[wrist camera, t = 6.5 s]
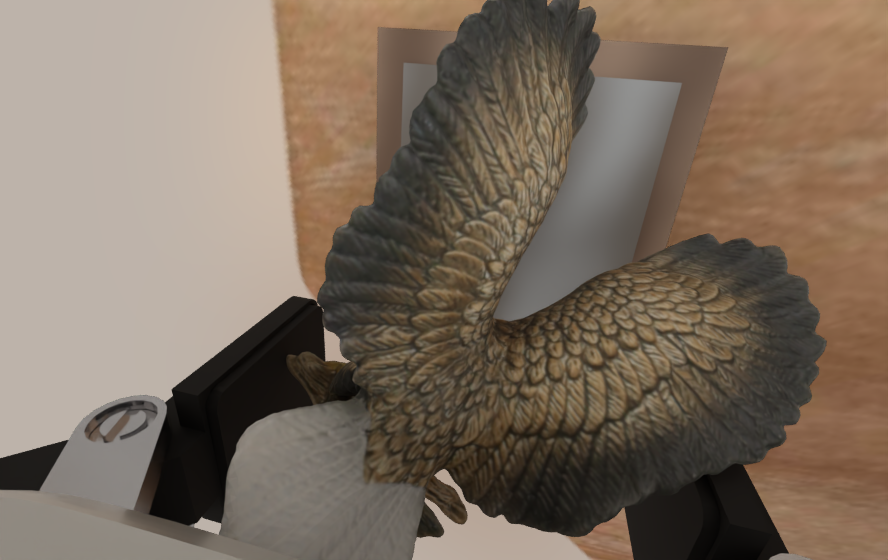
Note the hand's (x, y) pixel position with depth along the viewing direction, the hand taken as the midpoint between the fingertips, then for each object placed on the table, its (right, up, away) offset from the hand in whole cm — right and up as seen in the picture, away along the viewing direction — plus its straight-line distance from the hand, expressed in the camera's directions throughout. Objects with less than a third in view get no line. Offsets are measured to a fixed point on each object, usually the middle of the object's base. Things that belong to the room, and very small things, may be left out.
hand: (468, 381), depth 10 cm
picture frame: (+4, +7, +15) cm, 17 cm away
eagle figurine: (-1, +4, -2) cm, 4 cm away
